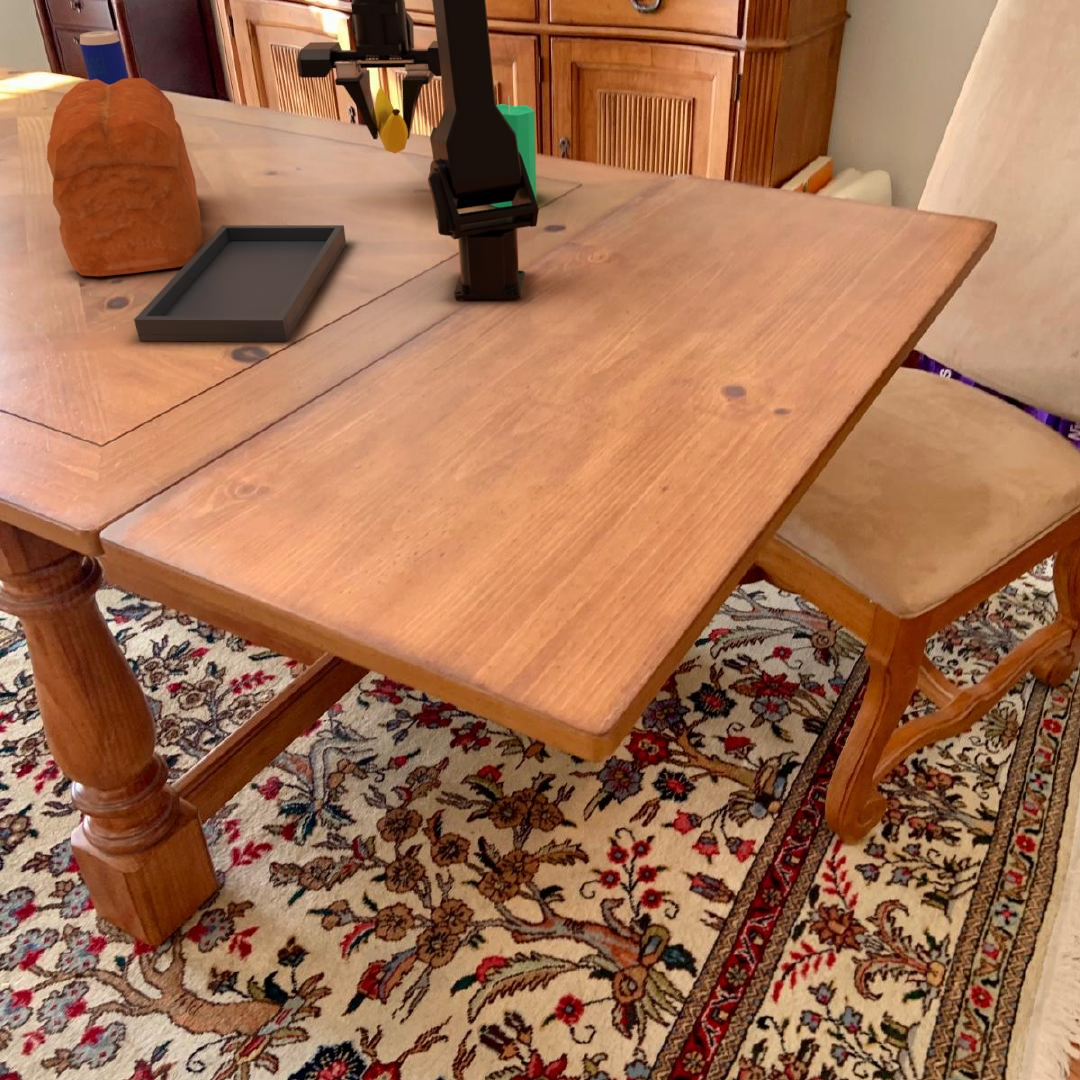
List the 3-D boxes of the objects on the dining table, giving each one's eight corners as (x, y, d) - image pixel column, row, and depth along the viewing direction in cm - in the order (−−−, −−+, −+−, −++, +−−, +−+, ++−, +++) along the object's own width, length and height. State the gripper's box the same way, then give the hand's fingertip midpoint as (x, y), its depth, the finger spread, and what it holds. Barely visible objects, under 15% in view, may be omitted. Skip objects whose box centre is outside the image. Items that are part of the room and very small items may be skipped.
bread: (69, 283, 104) (23, 129, 96) (81, 207, 125) (44, 74, 117) (210, 266, 108) (177, 115, 99) (199, 194, 129) (171, 64, 120)
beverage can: (105, 146, 149) (76, 32, 140) (142, 141, 150) (115, 29, 142) (109, 154, 145) (79, 38, 136) (146, 149, 147) (119, 34, 138)
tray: (286, 341, 92) (282, 319, 91) (139, 340, 93) (133, 319, 91) (346, 243, 113) (343, 225, 111) (225, 243, 113) (221, 225, 112)
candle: (531, 209, 121) (528, 102, 114) (482, 207, 122) (476, 100, 115) (541, 194, 126) (539, 90, 119) (494, 192, 127) (489, 89, 120)
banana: (395, 128, 129) (391, 74, 125) (414, 169, 114) (409, 108, 110) (372, 130, 128) (367, 75, 125) (388, 170, 113) (383, 110, 110)
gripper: (470, -22, 118) (477, 121, 127) (310, -19, 119) (329, 122, 128) (458, -8, 109) (467, 144, 118) (285, -6, 110) (307, 145, 119)
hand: (391, 138), depth 121 cm, fingers closed on banana, 3 cm apart
